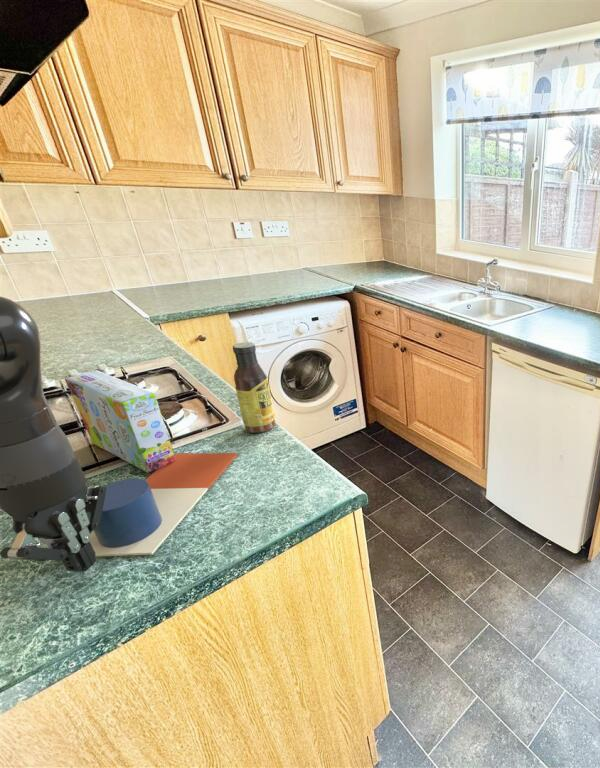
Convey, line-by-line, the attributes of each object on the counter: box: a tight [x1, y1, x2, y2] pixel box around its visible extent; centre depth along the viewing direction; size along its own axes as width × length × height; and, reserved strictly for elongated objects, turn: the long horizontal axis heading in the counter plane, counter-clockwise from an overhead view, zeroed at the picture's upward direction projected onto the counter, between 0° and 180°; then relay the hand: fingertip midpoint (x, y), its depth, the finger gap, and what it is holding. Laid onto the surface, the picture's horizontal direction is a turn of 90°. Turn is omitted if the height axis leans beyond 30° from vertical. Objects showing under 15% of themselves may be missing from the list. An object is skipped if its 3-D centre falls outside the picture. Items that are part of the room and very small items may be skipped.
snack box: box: [64, 369, 176, 474], centre depth 81 cm, size 21×6×15 cm, turn 64°
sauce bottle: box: [232, 341, 276, 434], centre depth 92 cm, size 6×6×20 cm
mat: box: [90, 452, 238, 558], centre depth 73 cm, size 12×26×1 cm, turn 6°
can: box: [87, 478, 162, 548], centre depth 65 cm, size 8×8×7 cm
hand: (84, 567), depth 58 cm, fingers closed
